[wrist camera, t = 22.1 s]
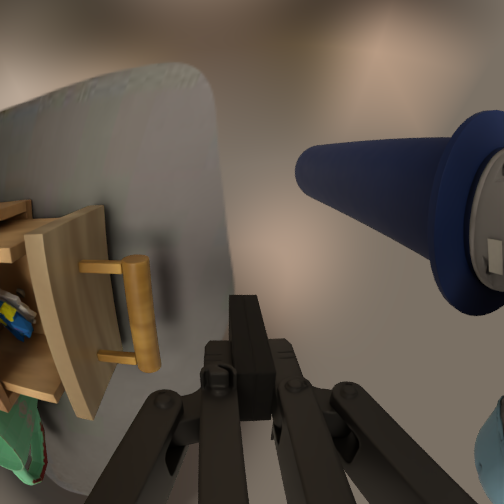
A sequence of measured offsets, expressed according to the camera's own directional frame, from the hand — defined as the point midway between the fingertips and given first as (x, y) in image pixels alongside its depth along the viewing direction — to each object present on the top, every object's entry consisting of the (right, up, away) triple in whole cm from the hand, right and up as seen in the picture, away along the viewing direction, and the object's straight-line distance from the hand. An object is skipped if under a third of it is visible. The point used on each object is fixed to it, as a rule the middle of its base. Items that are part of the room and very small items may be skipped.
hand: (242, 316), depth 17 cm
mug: (-24, -12, +7) cm, 27 cm away
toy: (-14, -1, 0) cm, 14 cm away
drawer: (-14, +1, +3) cm, 14 cm away
